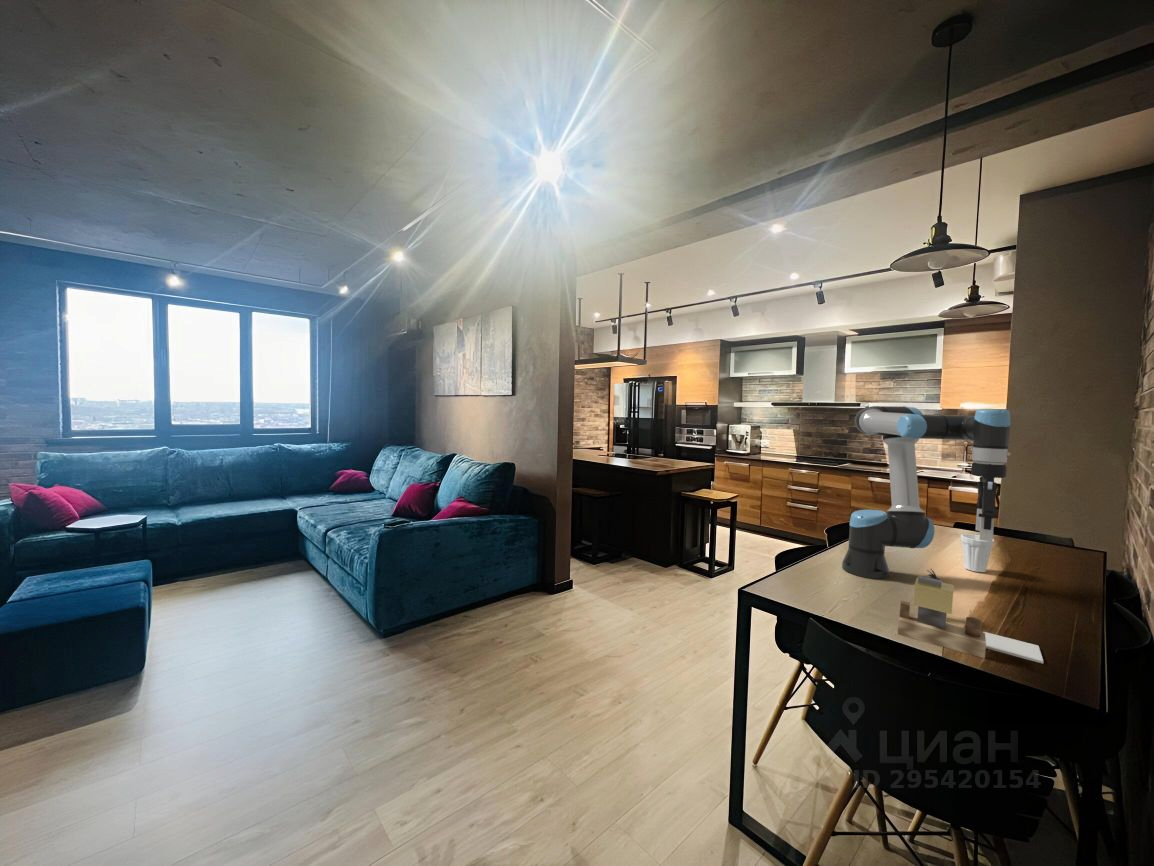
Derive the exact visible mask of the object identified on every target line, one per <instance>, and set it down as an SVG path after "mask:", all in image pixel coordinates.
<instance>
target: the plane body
mask: <svg viewBox="0 0 1154 866" xmlns="http://www.w3.org/2000/svg"><path fill="white" fill-rule="evenodd" d="M910 608H911V602H910V601H906V600H901V601H900V608H899V618H898V624H897V635H900V636H904V637H907V638H911V639H915V640H917V641H922V642H924V643H928V644H932V645H935V646H939V647H943V648H946V649H950V650H954V651H956V652H961V653H964V654H968V655H971V656H975V657H979V658H982V659H985V658H986V650H987V648H986V638H985V633H984V632H985V631H982V620H981V619H980V618H976V617H973V616H966V618H965V627H964V626H959V625H956V624H951V623H948V622H947V614H948V613H944V612H940V611H936V610H932V609H928V608H924V607H920V606H917V614H913V613H911V612H910V610H911V609H910Z"/></svg>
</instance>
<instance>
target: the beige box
mask: <svg viewBox="0 0 1154 866" xmlns="http://www.w3.org/2000/svg"><path fill="white" fill-rule="evenodd" d="M942 582H943V580H942V579H940V580H937V579H933V578H929V577H928V576H922V575H918V577H916V579H915V582H914V593H913V606H917V607H918V606H920V607H924V608H928V609H932V610H936V611H940V612H944V613H947V614H950V615H952V612H953V601H954V600H953V599H954V598H953V597H954V584H949V583H945V582H944V583H942Z"/></svg>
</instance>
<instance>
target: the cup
mask: <svg viewBox="0 0 1154 866" xmlns="http://www.w3.org/2000/svg"><path fill="white" fill-rule="evenodd" d="M979 536H980V534H974V533H973V534H972V533H971V534H970V533H962V534H961V535H960V540H961V546H962V556H963V557H962V558H963V565H964V569H965V570H969V571H973V572H975V573H976V572H977V573H985V572H986V570H987V567H988V564H989V560H990V557H991V553H992V550H993V547H994V545H995V539H994V538H993V542H990V541H983V540H979Z"/></svg>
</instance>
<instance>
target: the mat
mask: <svg viewBox="0 0 1154 866" xmlns="http://www.w3.org/2000/svg"><path fill="white" fill-rule="evenodd" d="M983 632H984V633H985V638H986V650H987V649H988V650H992V651H995V652H997V653H998V652H999V653H1003V654H1006V655H1010V656H1013V657H1017V658H1021V659H1024V660H1027V661H1028V660H1029V661H1032V662H1036V663H1039V664H1044V659H1043V656H1042V652H1041V649H1040V647H1039V645H1037V644H1033V643H1029V642H1025V641H1021V640H1018V639H1014V638H1009V637H1006V636H1002V635H998V634H995V633H991V632H987V631H983Z"/></svg>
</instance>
